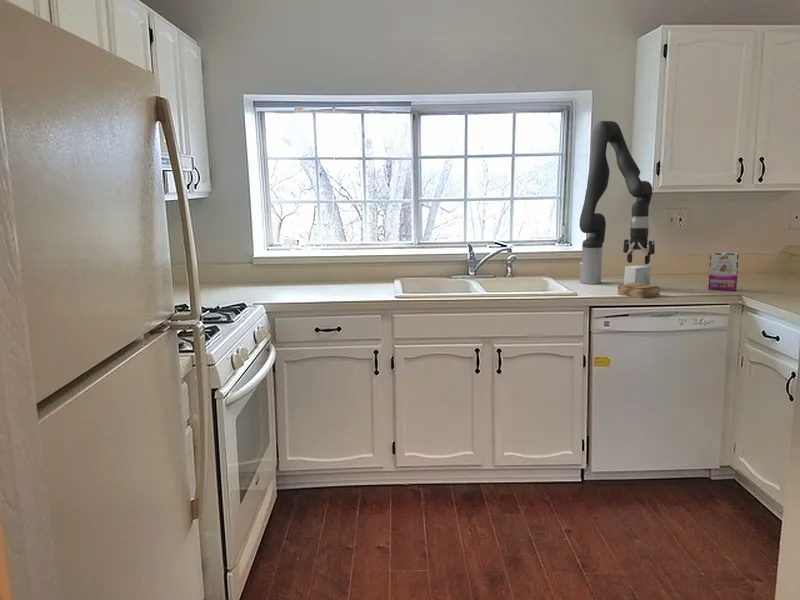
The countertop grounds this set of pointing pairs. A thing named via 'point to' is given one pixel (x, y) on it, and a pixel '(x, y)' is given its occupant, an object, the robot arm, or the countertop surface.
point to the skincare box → (637, 274)
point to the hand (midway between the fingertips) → (638, 263)
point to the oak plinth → (638, 290)
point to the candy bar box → (723, 271)
